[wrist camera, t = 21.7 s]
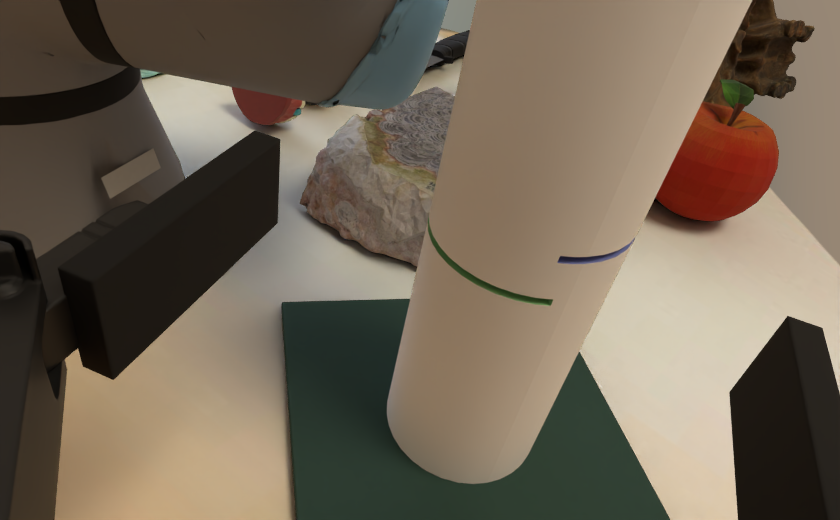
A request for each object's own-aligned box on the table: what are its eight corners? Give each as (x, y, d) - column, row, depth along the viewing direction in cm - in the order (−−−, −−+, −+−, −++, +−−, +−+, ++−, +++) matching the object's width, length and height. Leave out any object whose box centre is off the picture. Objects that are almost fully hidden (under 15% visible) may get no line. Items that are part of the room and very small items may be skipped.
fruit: (636, 226, 46) (696, 103, 40) (620, 164, 54) (668, 53, 48) (759, 252, 46) (837, 135, 40) (725, 187, 54) (787, 80, 48)
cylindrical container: (558, 470, 28) (945, -217, 12) (409, 496, 26) (654, -306, 10) (500, 352, 33) (722, -238, 17) (371, 365, 31) (496, -299, 15)
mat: (303, 626, 22) (304, 620, 21) (281, 309, 33) (281, 301, 33) (683, 561, 26) (690, 555, 26) (546, 301, 38) (549, 294, 37)
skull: (803, -114, 48) (620, -96, 58) (708, 86, 47) (539, 68, 57) (823, 41, 63) (675, 33, 73) (751, 195, 62) (611, 165, 72)
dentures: (303, 131, 46) (360, 87, 52) (276, 70, 44) (339, 32, 50) (243, 142, 49) (304, 99, 56) (215, 86, 47) (282, 48, 53)
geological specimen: (560, 141, 44) (443, 209, 33) (531, 211, 47) (418, 293, 36) (440, 81, 48) (301, 124, 37) (423, 150, 51) (291, 208, 40)
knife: (367, 91, 52) (322, 79, 54) (368, 109, 53) (323, 97, 55) (497, 32, 70) (459, 25, 72) (496, 46, 71) (458, 39, 73)
